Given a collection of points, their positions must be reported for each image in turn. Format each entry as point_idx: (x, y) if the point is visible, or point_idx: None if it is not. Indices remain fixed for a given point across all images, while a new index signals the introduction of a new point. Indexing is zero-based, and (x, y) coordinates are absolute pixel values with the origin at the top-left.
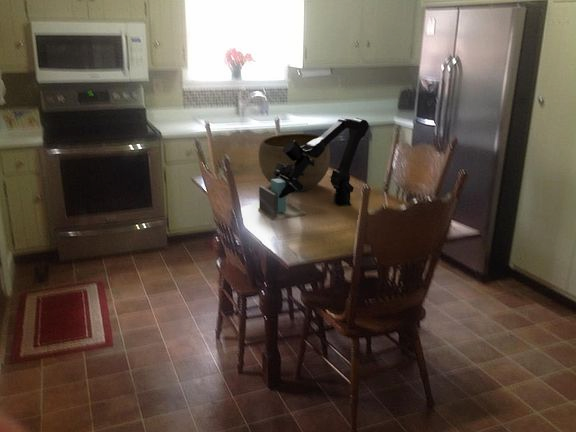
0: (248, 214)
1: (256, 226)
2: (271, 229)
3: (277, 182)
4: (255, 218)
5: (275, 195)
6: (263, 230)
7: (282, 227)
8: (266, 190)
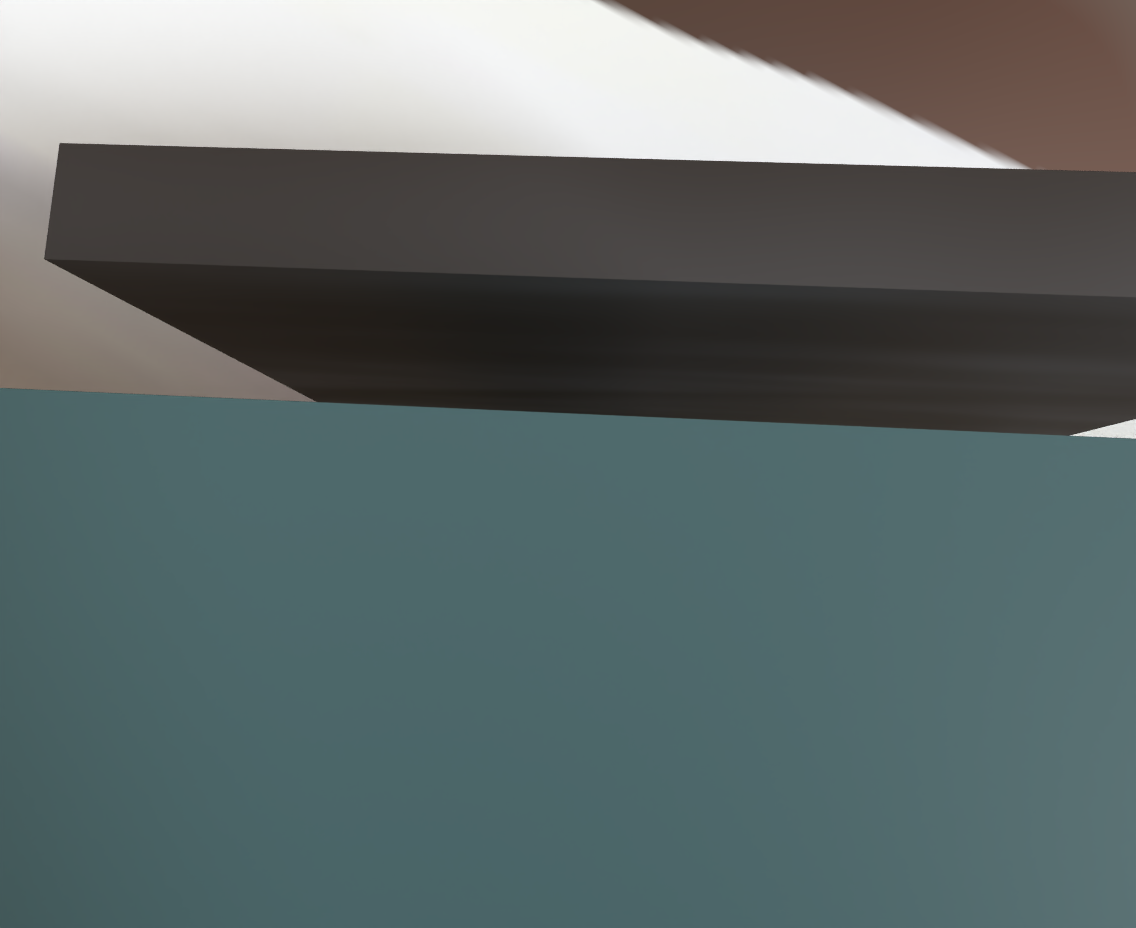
0: (857, 141)
1: (272, 10)
2: (38, 147)
3: (152, 473)
4: (611, 155)
5: (75, 228)
6: (69, 26)
7: (14, 336)
8: (771, 167)
